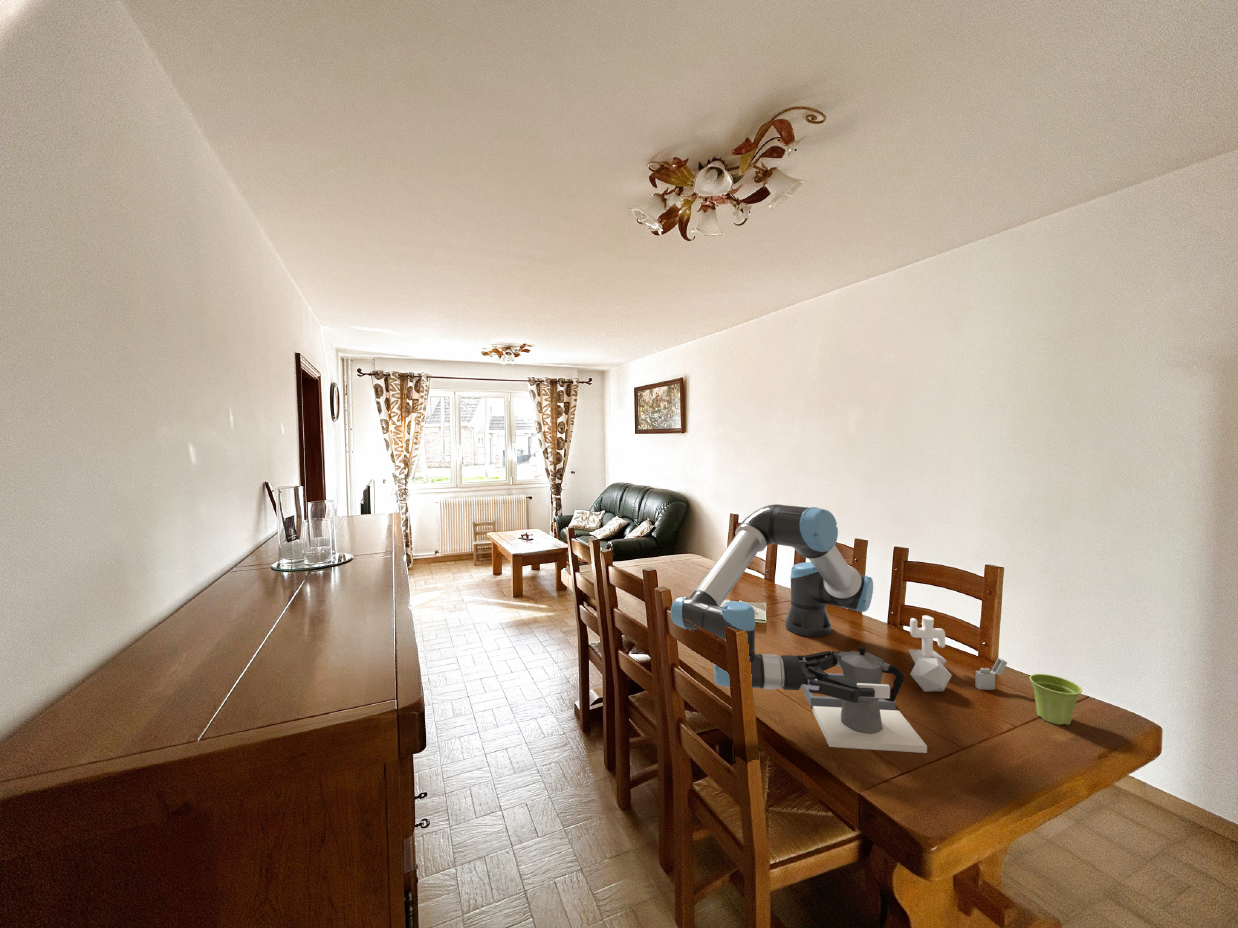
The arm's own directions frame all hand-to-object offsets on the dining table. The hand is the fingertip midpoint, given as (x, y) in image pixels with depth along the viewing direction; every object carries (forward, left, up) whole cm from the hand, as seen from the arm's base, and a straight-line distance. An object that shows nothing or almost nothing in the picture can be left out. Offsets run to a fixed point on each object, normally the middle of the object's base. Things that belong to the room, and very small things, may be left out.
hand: (877, 676), depth 114 cm
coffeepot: (0, -2, -12) cm, 12 cm away
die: (-22, +22, -13) cm, 34 cm away
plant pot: (-10, +44, -13) cm, 47 cm away
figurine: (-35, +27, -13) cm, 46 cm away
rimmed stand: (-16, -2, -13) cm, 21 cm away
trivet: (0, -2, -13) cm, 13 cm away
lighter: (-24, +38, -13) cm, 47 cm away
